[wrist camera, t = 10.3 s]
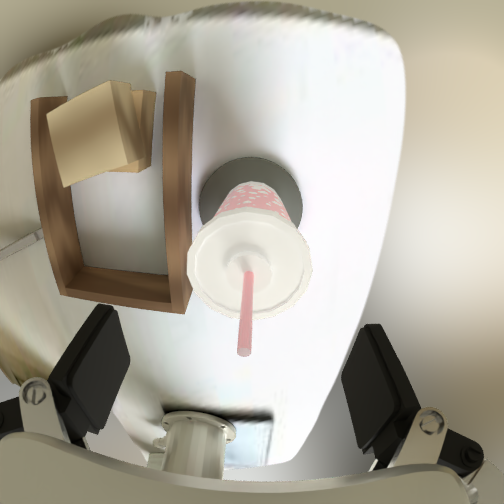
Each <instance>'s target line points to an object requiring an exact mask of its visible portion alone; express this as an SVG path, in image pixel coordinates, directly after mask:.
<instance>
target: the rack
mask: <svg viewBox="0 0 504 504" xmlns="http://www.w3.org/2000/svg"><path fill="white" fill-rule="evenodd" d="M195 80H196V79H195V78H193V77H191V76H190V75H188V74H186V73H184V72H182V71H173V72H166V76H165V91H164V111H163V204H164V224H165V240H166V253H167V265H168V275H158V274H148V273H139V272H130V271H121V270H112V269H103V268H95V267H87V266H84V263H83V258H82V254H81V249H80V244H79V239H78V234H77V229H76V223H75V217H74V210H73V203H72V196H71V187H70V185H69V186H67V187H63V184H62V180H61V177H60V173H59V169H58V166H57V162H56V158H55V154H54V150H53V145H52V141H51V136H50V131H49V126H48V121H47V115H46V114H48V113H49V112H51V111H52V110H54V109H56V108H57V107H59V106H61V105H62V104H64V103H66V102H67V96H63V97H41V98H36V99H33V100H31V117H30V123H31V152H32V165H33V175H34V183H35V191H36V198H37V204H38V210H39V215H40V221H41V226H42V230H43V235H44V239H45V243H46V248H47V252H48V255H49V259H50V263H51V266H52V270H53V273H54V276H55V280H56V283H57V286H58V289H59V292H60V295H64V296H69V297H74V298H79V299H84V300H90V301H95V302H101V303H107V304H113V305H119V306H126V307H132V308H139V309H146V310H153V311H161V312H169V313H177V314H185V311H186V308H187V305H188V302H189V299H190V296H191V293H192V290H193V287H192V285H191V283H190V280H189V278H188V276H187V254H188V251H189V249H190V247H191V245H192V219H191V174H192V134H193V112H194V95H195Z"/></svg>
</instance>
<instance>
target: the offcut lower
mask: <svg viewBox="0 0 504 504" xmlns="http://www.w3.org/2000/svg"><path fill="white" fill-rule="evenodd" d="M132 95H133V100H134V105H135V110H136V115H137V120H138V124H139V129H140V133H141V138H142V142H143V146H144V150H145V154H146V157H144V158H142V159H139V160H137V161H135V162H132V163H130V164H128V165H125V166H122V167H119V168H116V169H113V170H110V171H107V172H136V173H138V172H140V171H142V170H144V169H146V168H148V167H150V166H151V155H152V136H153V122H154V110H155V99H156V92H151V91H146V90H135V91H132Z"/></svg>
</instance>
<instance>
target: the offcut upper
mask: <svg viewBox="0 0 504 504" xmlns="http://www.w3.org/2000/svg"><path fill="white" fill-rule="evenodd" d="M46 115H47V121H48V126H49V131H50V136H51V141H52V145H53V150H54V154H55V158H56V162H57V166H58V169H59V173H60V177H61V180H62V184H63V187H67V186H69V185H72V184H74V183H77V182H79V181H82V180H85V179H87V178H90V177H93V176H95V175H98V174H101V173H104V172H107V171H110V170H113V169H116V168H119V167H122V166H125V165H128V164H130V163H132V162H135V161H137V160H139V159H142V158H144V157H146V154H145V150H144V146H143V142H142V138H141V133H140V129H139V124H138V120H137V115H136V110H135V105H134V100H133V95H132V90H131V84H129V83H124V82H118V81H112V80H109V81H107V82H105V83H103V84H100V85H98V86H96V87H94V88H92V89H90V90H88V91H86V92H84V93H82V94H80V95H79V96H77V97H75V98H73V99H71V100H69V101H68V102H66V103H64V104H62V105H61V106H59V107H57V108H56V109H54V110H52V111H51V112H49V113H48V114H46Z"/></svg>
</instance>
